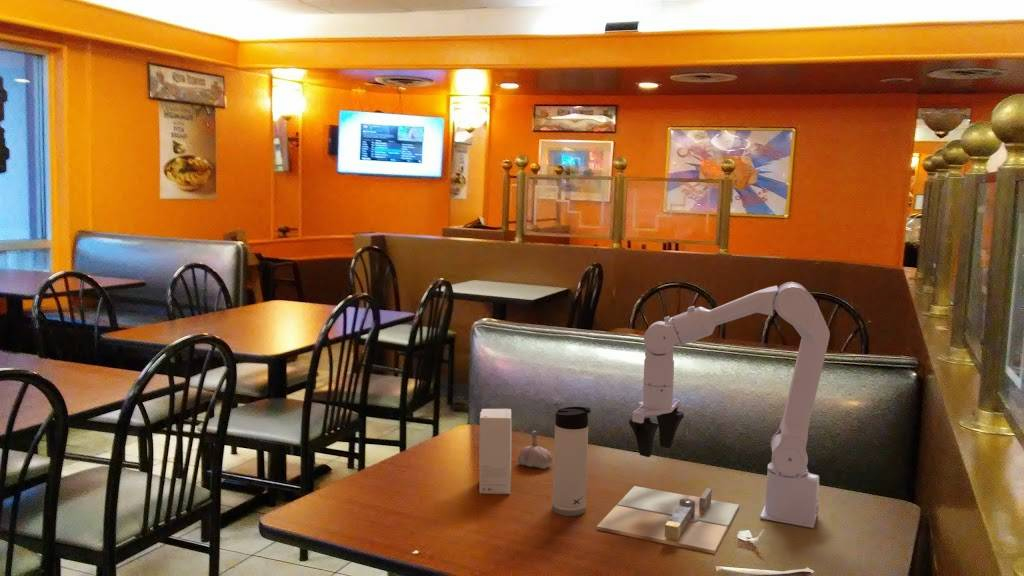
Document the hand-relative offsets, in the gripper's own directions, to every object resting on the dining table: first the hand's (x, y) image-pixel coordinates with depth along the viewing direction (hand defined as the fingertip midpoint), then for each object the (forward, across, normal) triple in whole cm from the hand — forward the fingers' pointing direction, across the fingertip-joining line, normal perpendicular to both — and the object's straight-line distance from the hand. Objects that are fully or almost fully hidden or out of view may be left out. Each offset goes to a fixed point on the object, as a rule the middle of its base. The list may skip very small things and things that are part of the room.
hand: (655, 451), depth 160 cm
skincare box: (+10, +17, -27) cm, 33 cm away
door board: (+10, +6, +7) cm, 14 cm away
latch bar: (+9, +10, +12) cm, 17 cm away
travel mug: (+10, +16, -8) cm, 21 cm away
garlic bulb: (+10, +1, -30) cm, 31 cm away
